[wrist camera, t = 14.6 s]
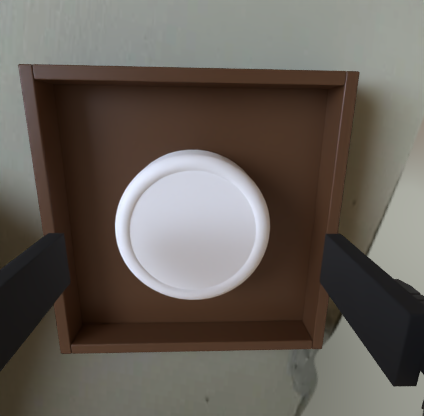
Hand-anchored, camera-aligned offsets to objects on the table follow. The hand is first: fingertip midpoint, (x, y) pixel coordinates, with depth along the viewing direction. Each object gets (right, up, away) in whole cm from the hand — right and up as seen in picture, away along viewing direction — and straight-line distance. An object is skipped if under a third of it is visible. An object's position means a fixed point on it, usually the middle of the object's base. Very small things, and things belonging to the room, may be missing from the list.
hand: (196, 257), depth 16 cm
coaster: (-1, +2, +7) cm, 8 cm away
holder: (-1, +2, +8) cm, 8 cm away
